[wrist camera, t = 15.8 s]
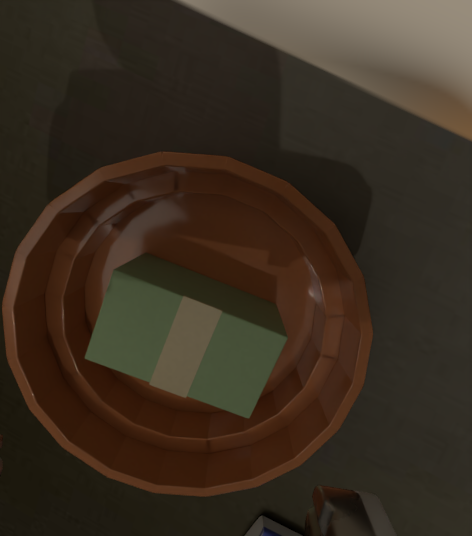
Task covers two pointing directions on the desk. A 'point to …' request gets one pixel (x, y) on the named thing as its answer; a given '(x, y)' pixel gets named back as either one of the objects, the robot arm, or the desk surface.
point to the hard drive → (269, 528)
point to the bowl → (208, 264)
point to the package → (187, 334)
